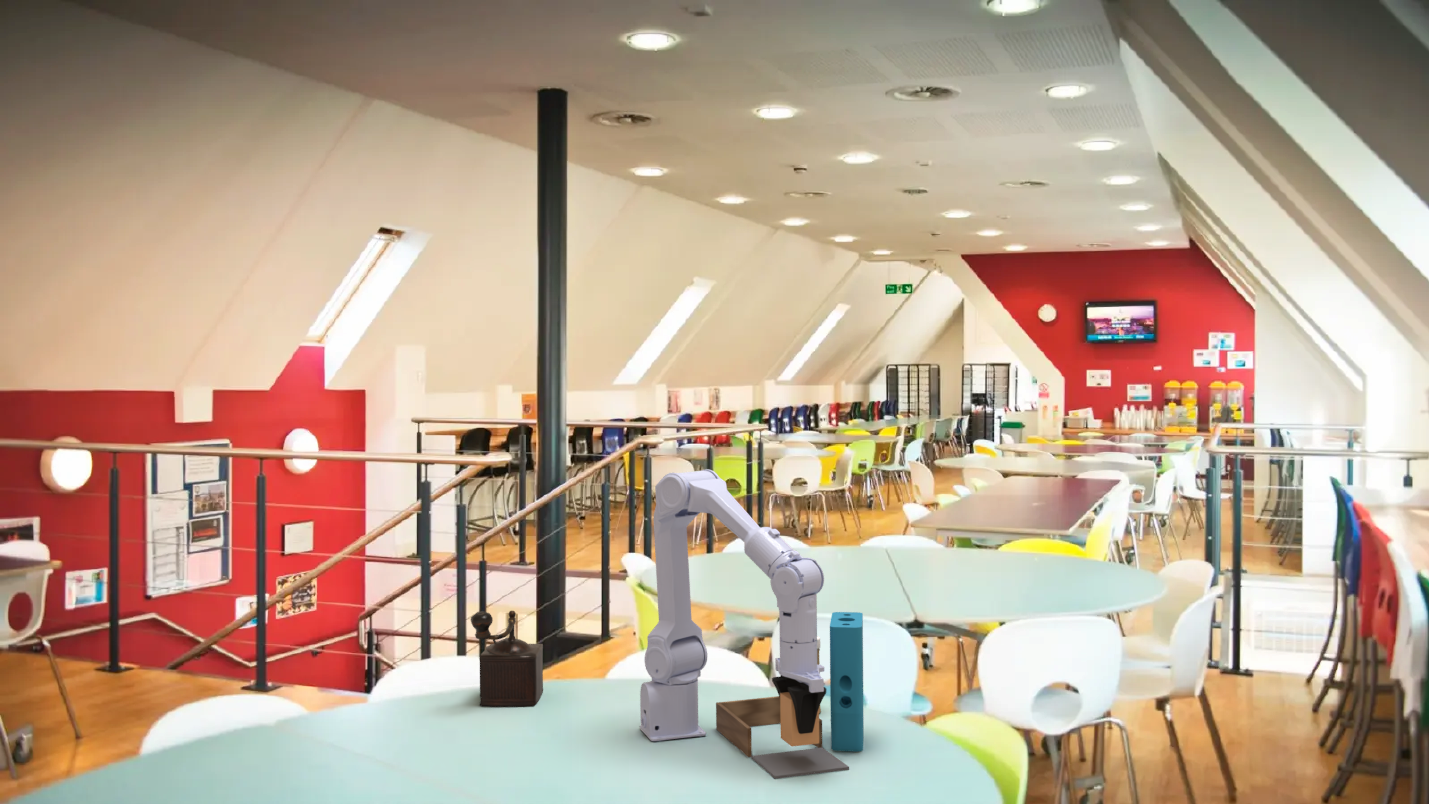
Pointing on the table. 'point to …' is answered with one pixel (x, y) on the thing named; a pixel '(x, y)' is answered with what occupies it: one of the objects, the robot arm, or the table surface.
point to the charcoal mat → (799, 762)
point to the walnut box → (749, 720)
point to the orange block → (795, 724)
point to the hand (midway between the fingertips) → (799, 728)
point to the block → (846, 681)
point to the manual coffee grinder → (508, 666)
